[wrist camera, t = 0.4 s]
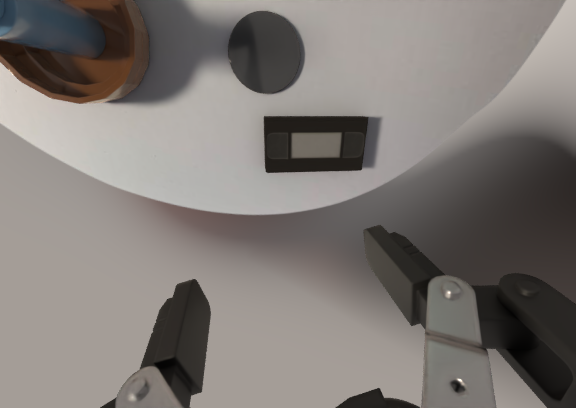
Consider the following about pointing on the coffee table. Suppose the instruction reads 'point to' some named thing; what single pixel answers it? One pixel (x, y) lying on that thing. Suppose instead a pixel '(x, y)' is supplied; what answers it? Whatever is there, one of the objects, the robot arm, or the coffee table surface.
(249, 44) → the coaster
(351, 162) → the vhs tape
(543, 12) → the coffee table surface
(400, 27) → the coffee table surface
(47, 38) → the bottle
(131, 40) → the bowl
